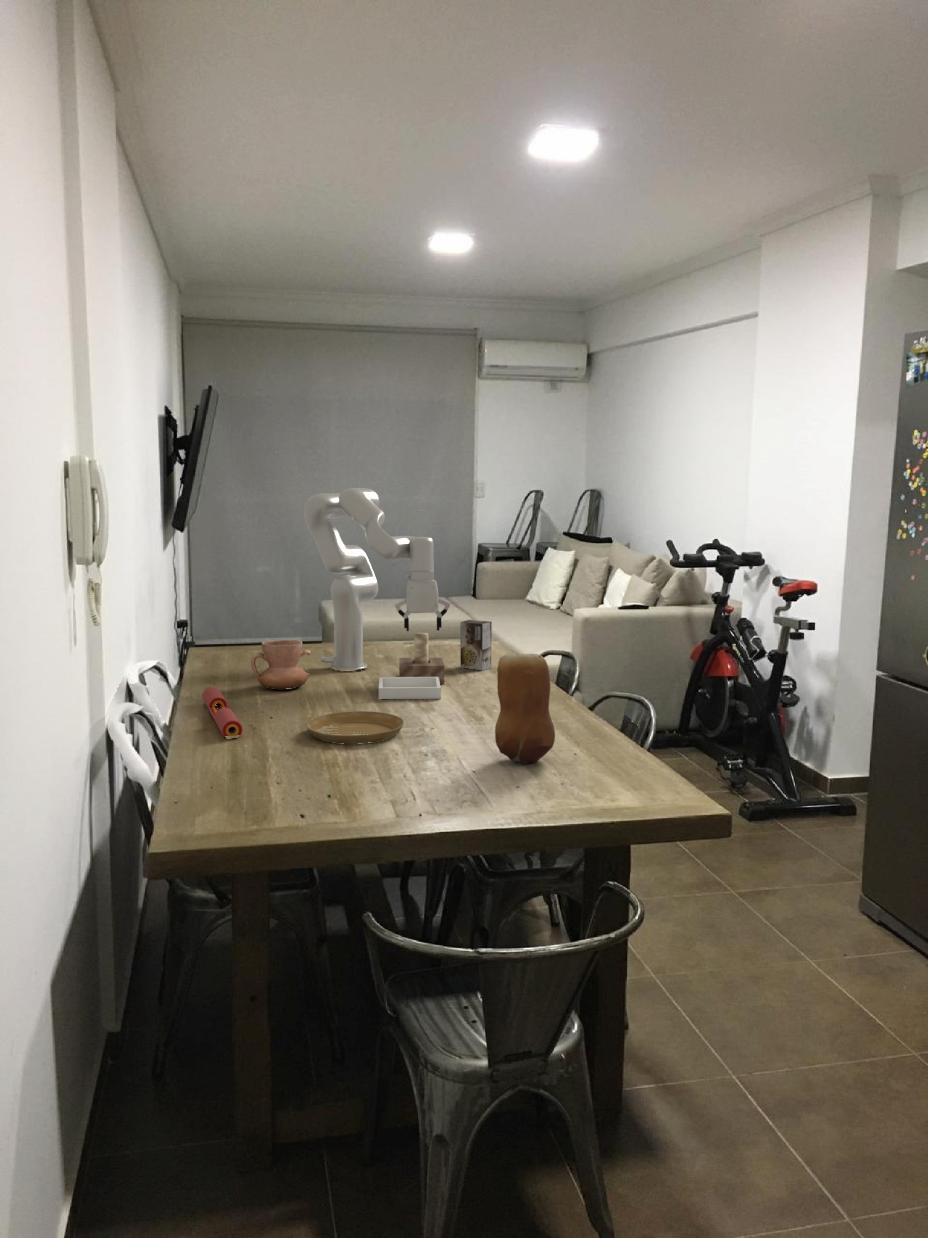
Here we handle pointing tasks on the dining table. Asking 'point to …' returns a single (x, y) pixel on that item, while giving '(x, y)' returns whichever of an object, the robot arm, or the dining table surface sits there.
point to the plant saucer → (357, 726)
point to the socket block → (422, 668)
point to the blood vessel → (222, 712)
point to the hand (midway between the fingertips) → (422, 630)
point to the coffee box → (475, 644)
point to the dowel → (421, 648)
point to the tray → (409, 688)
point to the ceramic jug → (281, 664)
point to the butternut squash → (524, 708)
